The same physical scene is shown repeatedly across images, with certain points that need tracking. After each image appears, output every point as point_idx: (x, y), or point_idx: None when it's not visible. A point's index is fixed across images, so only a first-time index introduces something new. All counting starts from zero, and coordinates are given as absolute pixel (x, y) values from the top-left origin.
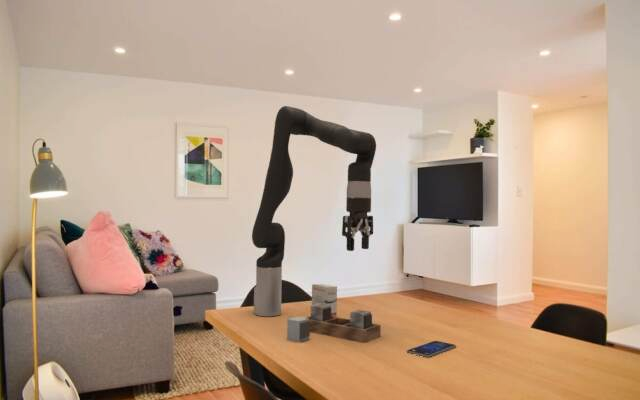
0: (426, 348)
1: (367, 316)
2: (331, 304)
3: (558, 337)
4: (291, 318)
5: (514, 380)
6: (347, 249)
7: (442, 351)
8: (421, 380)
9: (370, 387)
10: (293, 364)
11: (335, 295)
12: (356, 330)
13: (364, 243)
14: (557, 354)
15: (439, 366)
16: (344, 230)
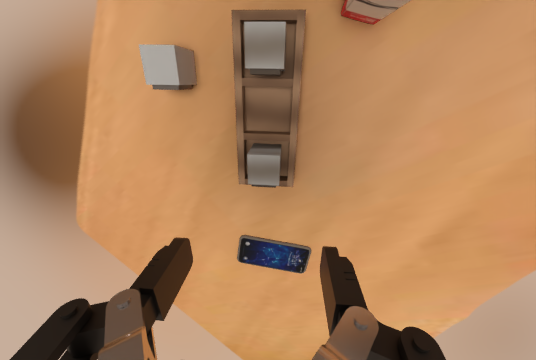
0: (265, 252)
1: (259, 185)
2: (369, 7)
3: None
4: (149, 49)
5: (230, 322)
6: (175, 241)
7: (268, 267)
8: None
9: (121, 247)
10: (96, 151)
11: (398, 2)
12: (238, 167)
13: (326, 281)
14: None
15: (220, 274)
16: (49, 347)
